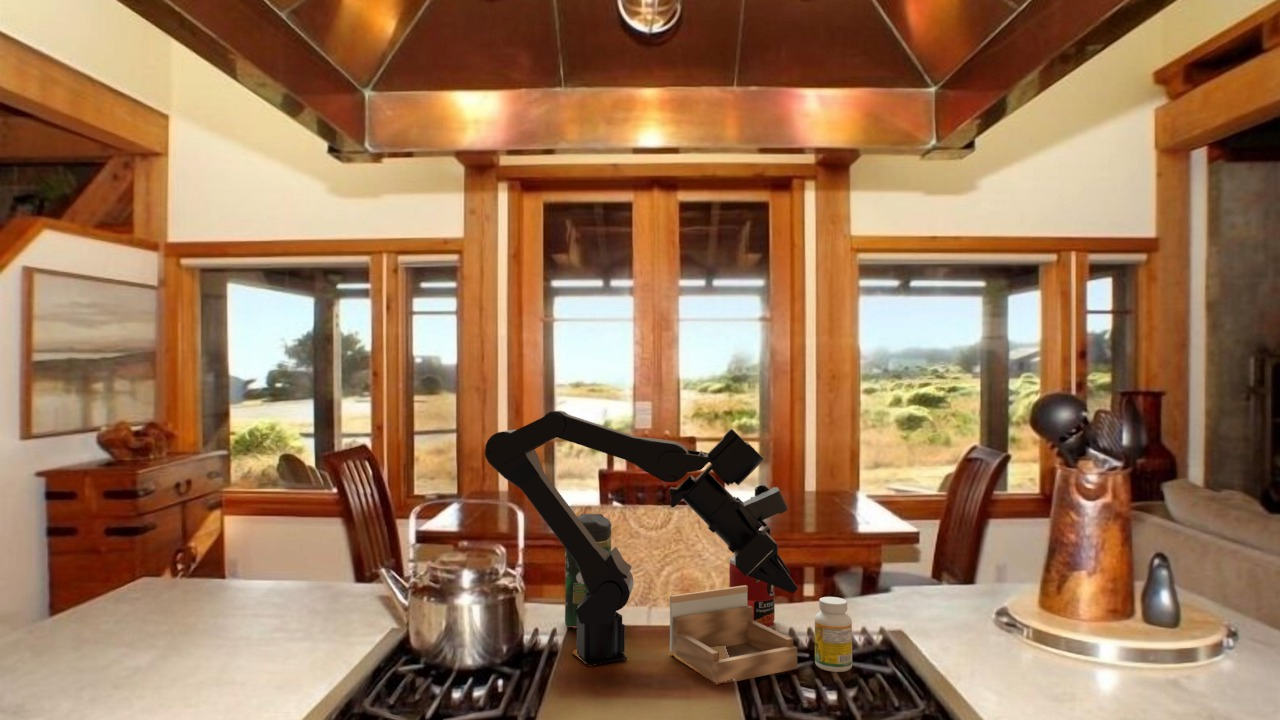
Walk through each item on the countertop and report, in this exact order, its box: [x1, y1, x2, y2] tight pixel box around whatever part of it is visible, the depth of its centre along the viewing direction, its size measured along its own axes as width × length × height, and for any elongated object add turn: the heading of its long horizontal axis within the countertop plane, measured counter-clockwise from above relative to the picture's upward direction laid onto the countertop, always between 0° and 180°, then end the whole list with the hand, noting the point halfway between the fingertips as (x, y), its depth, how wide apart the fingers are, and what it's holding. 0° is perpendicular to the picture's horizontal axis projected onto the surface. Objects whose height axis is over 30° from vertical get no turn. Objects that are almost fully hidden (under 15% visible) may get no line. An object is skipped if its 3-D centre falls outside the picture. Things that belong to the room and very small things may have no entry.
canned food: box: [728, 555, 776, 628], centre depth 133 cm, size 8×8×11 cm
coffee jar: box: [564, 513, 612, 628], centre depth 131 cm, size 10×8×19 cm
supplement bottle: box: [814, 596, 853, 673], centre depth 112 cm, size 5×5×10 cm
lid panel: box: [669, 585, 748, 652], centre depth 119 cm, size 14×1×9 cm, turn 117°
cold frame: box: [673, 606, 798, 683], centre depth 113 cm, size 14×12×6 cm
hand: (791, 582), depth 113 cm, fingers open, 9 cm apart
